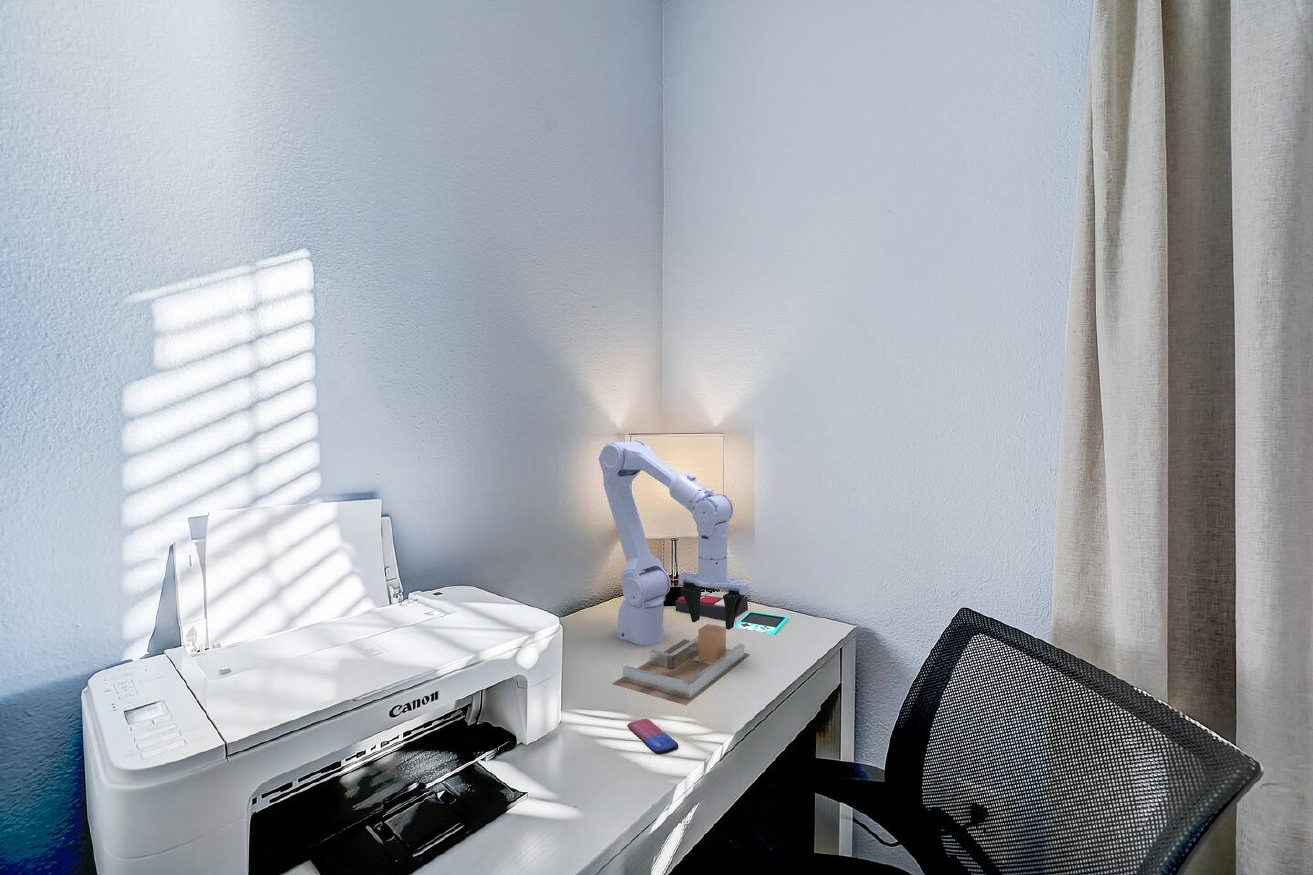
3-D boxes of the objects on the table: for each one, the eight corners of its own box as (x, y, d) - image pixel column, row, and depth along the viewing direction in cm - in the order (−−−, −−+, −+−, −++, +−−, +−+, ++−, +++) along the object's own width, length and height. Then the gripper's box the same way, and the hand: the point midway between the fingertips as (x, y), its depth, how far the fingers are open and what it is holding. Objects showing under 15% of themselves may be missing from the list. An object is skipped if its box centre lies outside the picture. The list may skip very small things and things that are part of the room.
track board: (612, 689, 115) (611, 683, 115) (684, 643, 137) (684, 638, 137) (686, 710, 107) (686, 704, 107) (750, 658, 128) (750, 653, 128)
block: (698, 659, 126) (698, 629, 125) (707, 652, 129) (707, 623, 129) (716, 663, 123) (716, 633, 123) (725, 656, 127) (725, 627, 127)
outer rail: (622, 680, 116) (622, 667, 116) (683, 643, 135) (683, 631, 134) (689, 699, 109) (689, 685, 108) (744, 656, 127) (744, 644, 127)
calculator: (695, 587, 168) (747, 593, 160) (696, 603, 168) (748, 610, 160) (674, 597, 159) (728, 604, 151) (675, 614, 159) (729, 622, 151)
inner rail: (649, 664, 124) (649, 651, 124) (683, 643, 135) (683, 631, 134) (671, 669, 121) (671, 656, 121) (704, 647, 132) (704, 635, 132)
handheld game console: (726, 636, 143) (726, 630, 143) (749, 615, 157) (749, 609, 157) (769, 643, 138) (769, 637, 138) (789, 621, 153) (789, 615, 153)
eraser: (622, 731, 101) (621, 720, 101) (644, 724, 103) (644, 713, 103) (657, 764, 91) (656, 751, 91) (681, 755, 93) (681, 744, 93)
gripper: (670, 555, 126) (670, 623, 127) (737, 565, 118) (736, 637, 119) (688, 549, 132) (688, 613, 133) (753, 558, 124) (752, 626, 125)
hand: (712, 624), depth 126 cm, fingers open, 7 cm apart
